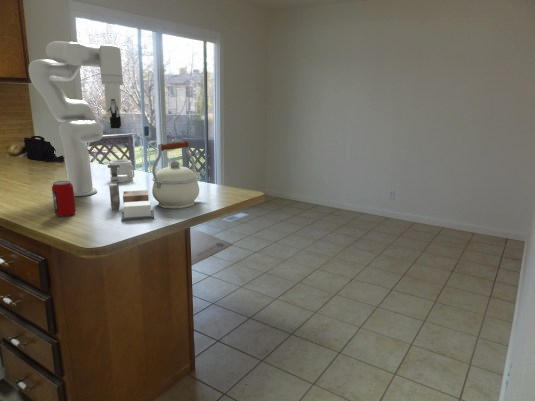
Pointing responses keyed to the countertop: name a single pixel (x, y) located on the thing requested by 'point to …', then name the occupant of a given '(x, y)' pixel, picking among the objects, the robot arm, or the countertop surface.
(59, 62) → the robot arm
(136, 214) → the cover
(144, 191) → the housing
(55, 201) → the beverage can
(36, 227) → the countertop surface
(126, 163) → the mug
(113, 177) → the latch
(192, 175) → the kettle
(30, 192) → the countertop surface
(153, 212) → the mat
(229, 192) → the countertop surface
